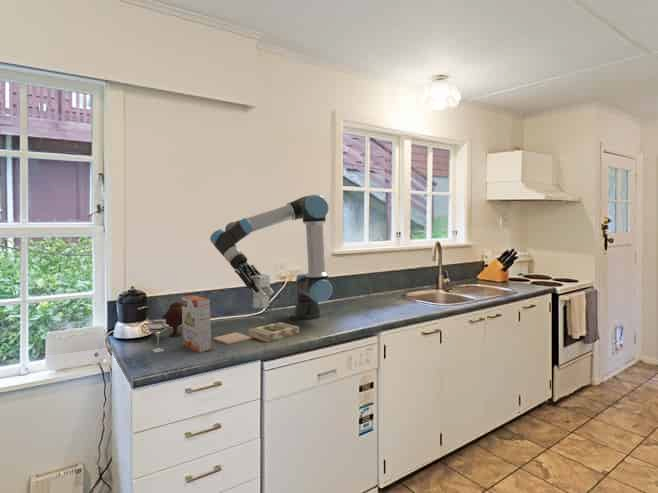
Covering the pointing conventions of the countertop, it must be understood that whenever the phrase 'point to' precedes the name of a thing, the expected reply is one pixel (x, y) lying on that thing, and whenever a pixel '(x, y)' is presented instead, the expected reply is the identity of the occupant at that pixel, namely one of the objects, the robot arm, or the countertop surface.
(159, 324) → the wineglass
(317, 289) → the robot arm
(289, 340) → the countertop surface
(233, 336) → the terracotta tile
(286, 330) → the well board
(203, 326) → the cracker box
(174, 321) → the ice cream bowl
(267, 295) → the syrup box
